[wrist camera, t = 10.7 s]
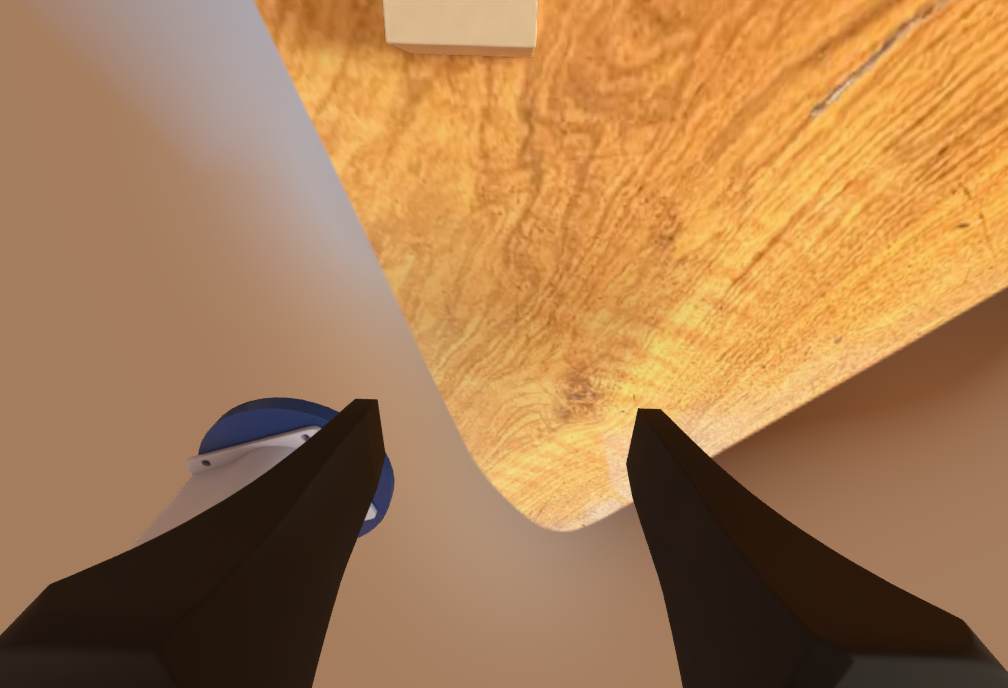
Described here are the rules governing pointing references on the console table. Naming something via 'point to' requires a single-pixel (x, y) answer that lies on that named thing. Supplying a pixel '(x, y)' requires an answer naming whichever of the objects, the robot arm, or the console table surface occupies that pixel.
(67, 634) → the robot arm
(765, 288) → the console table surface
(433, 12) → the beige rectangular block
